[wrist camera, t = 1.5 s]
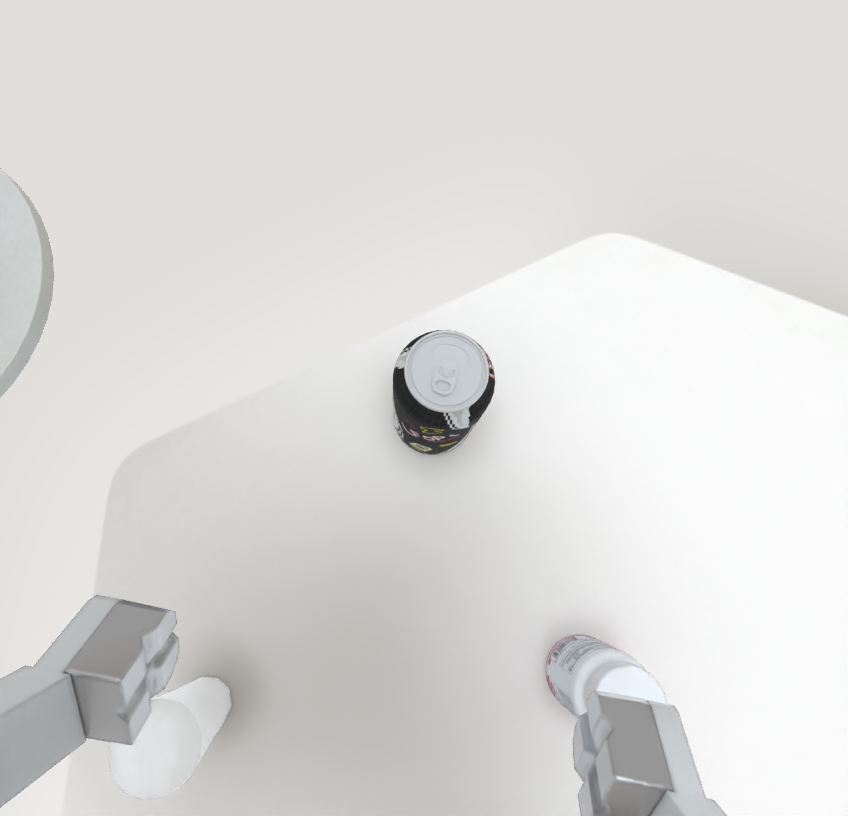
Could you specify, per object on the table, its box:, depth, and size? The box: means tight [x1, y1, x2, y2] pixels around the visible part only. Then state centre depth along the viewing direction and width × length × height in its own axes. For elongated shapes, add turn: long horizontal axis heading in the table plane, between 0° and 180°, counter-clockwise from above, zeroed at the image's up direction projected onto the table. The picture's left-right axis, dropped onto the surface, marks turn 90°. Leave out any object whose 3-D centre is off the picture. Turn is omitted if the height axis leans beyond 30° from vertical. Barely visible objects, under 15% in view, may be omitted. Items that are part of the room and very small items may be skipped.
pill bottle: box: [546, 635, 667, 719], centre depth 34 cm, size 5×5×8 cm
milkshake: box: [109, 677, 232, 799], centre depth 32 cm, size 5×5×10 cm
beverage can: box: [393, 330, 495, 454], centre depth 36 cm, size 6×6×12 cm
